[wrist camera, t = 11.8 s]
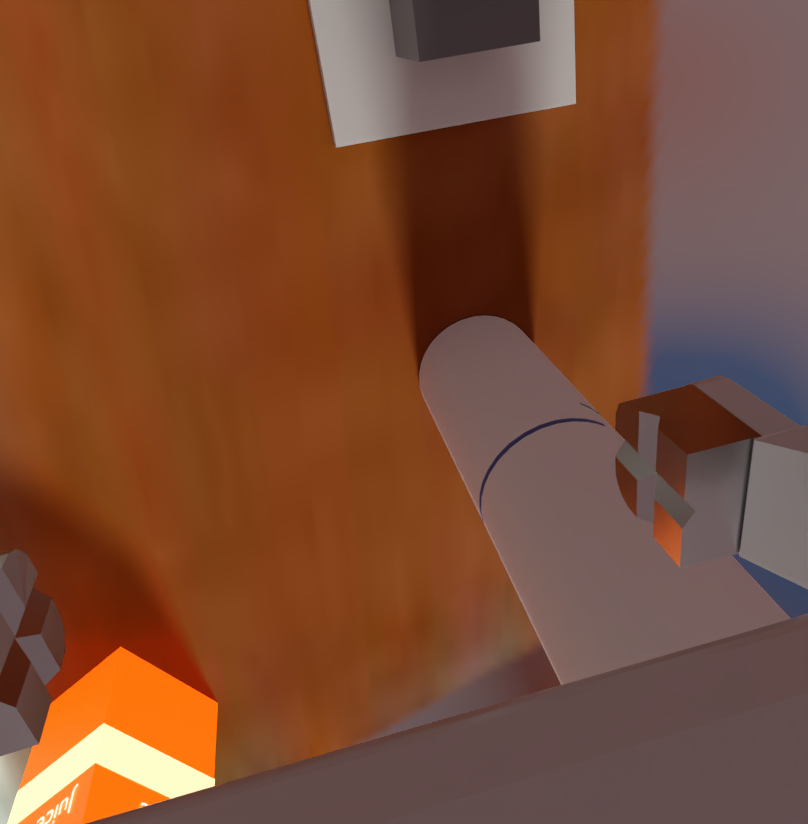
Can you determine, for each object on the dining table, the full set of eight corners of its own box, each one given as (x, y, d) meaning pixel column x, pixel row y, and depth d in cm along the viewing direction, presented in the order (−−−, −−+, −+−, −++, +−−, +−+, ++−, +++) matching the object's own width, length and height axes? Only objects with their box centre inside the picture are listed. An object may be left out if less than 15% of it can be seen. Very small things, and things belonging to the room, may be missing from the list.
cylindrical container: (436, 306, 39) (667, 638, 17) (550, 326, 41) (885, 646, 19) (406, 417, 42) (571, 819, 20) (513, 430, 44) (768, 810, 22)
